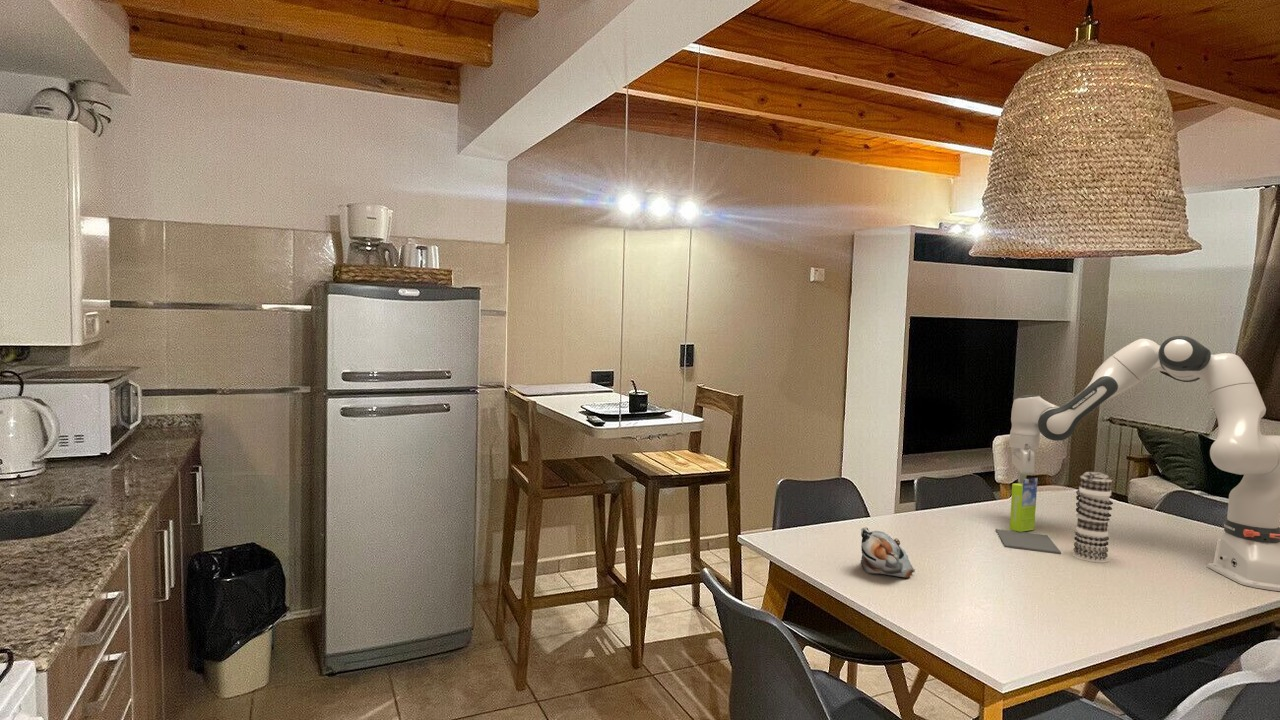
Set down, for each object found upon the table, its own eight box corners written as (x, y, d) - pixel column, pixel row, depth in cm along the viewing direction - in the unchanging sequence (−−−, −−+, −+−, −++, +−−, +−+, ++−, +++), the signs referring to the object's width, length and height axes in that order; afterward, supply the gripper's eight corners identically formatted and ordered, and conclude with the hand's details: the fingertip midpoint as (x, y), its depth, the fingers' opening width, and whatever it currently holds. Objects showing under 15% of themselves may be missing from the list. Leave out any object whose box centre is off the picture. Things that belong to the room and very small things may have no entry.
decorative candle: (1081, 551, 216) (1087, 469, 215) (1114, 560, 208) (1121, 475, 207) (1065, 555, 211) (1071, 471, 210) (1099, 564, 204) (1105, 477, 202)
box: (1023, 527, 241) (1026, 475, 241) (1035, 530, 238) (1039, 477, 238) (1008, 530, 235) (1011, 477, 235) (1021, 532, 231) (1024, 479, 231)
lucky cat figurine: (924, 578, 186) (919, 537, 180) (884, 598, 184) (878, 557, 178) (889, 545, 199) (883, 506, 193) (851, 563, 197) (844, 524, 191)
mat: (1060, 554, 212) (1061, 552, 212) (1004, 547, 217) (1004, 545, 217) (1047, 536, 230) (1047, 535, 230) (995, 530, 235) (995, 529, 235)
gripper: (1041, 448, 231) (1038, 490, 231) (1029, 439, 250) (1026, 478, 251) (1019, 446, 233) (1016, 488, 233) (1008, 437, 252) (1006, 476, 253)
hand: (1021, 483), depth 242 cm, fingers closed
